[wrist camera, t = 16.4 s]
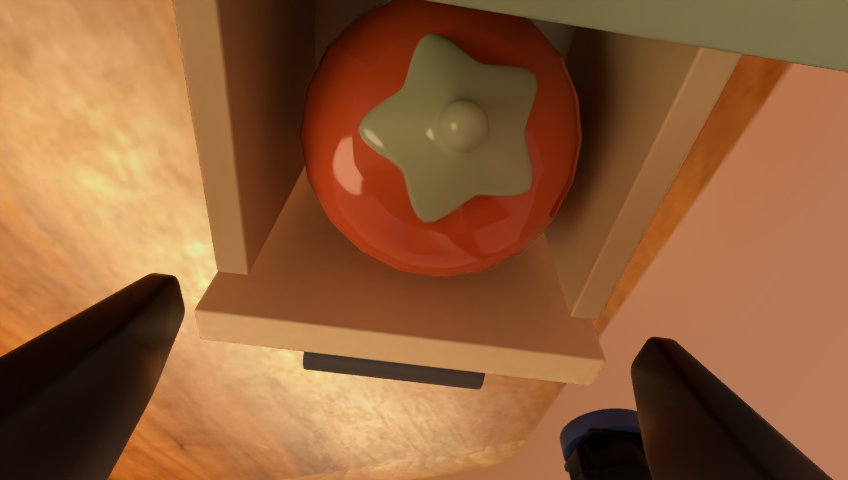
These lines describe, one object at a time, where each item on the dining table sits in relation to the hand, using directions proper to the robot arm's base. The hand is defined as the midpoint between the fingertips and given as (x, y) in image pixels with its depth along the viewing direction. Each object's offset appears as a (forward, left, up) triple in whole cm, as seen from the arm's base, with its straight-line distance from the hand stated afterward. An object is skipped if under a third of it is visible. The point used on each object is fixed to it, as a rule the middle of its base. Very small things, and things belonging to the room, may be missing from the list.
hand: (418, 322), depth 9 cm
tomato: (0, +1, -9) cm, 9 cm away
